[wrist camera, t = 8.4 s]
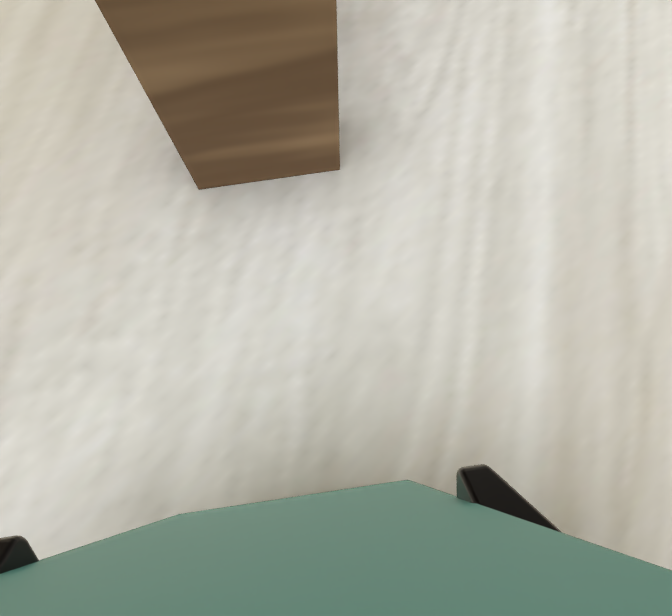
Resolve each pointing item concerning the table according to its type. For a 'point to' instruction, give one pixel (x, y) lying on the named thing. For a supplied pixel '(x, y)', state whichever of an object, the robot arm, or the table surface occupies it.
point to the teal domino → (341, 564)
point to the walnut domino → (238, 82)
